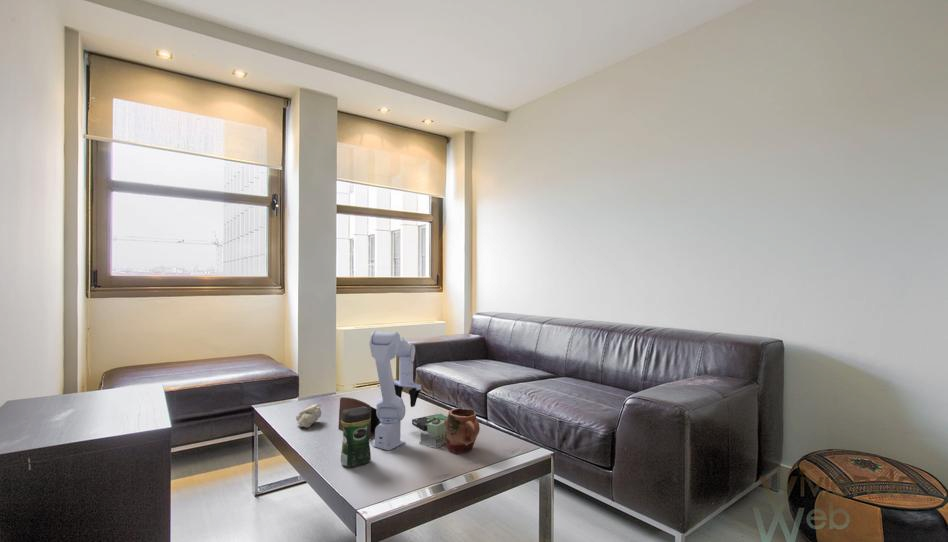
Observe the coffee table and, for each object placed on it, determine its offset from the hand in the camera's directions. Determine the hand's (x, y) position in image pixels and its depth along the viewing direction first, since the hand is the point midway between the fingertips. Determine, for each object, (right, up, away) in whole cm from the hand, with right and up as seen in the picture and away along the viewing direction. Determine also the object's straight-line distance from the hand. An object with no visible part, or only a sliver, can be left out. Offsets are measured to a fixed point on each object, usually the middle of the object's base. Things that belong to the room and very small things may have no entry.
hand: (405, 404), depth 183 cm
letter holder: (-17, -10, -3) cm, 20 cm away
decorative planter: (+24, -10, -22) cm, 34 cm away
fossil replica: (-42, -10, +4) cm, 43 cm away
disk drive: (+11, -11, +6) cm, 16 cm away
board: (+14, -7, -13) cm, 20 cm away
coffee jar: (-12, -10, -34) cm, 37 cm away
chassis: (+14, -10, -13) cm, 22 cm away
